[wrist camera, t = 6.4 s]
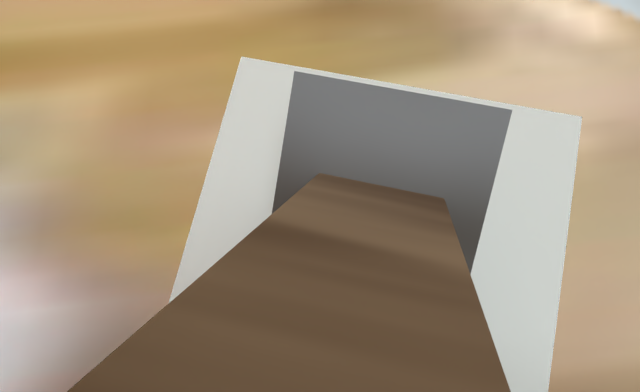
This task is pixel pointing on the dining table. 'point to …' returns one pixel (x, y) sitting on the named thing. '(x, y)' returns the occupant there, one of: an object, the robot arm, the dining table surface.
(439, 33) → the dining table surface
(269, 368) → the brown post on stand
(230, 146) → the primed board
